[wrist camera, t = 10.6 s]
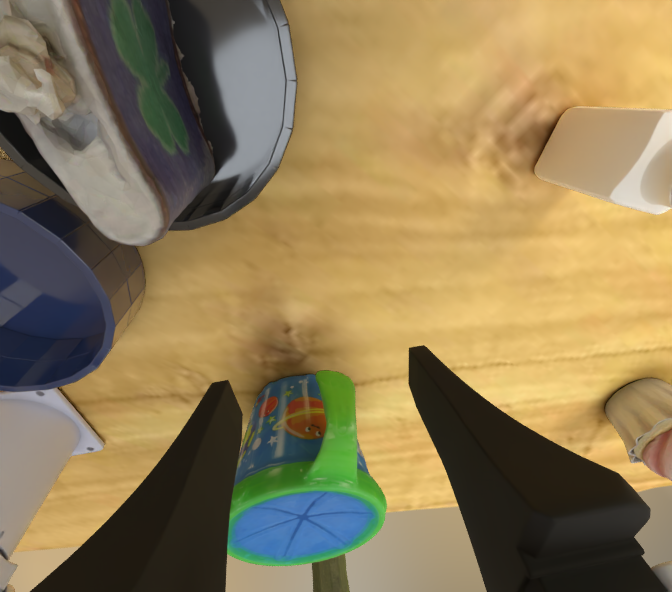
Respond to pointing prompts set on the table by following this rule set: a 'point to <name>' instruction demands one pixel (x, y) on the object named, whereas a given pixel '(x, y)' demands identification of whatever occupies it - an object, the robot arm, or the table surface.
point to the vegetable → (330, 575)
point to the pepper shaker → (613, 156)
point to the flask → (107, 108)
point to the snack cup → (303, 476)
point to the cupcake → (645, 423)
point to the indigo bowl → (58, 287)
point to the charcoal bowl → (215, 103)
